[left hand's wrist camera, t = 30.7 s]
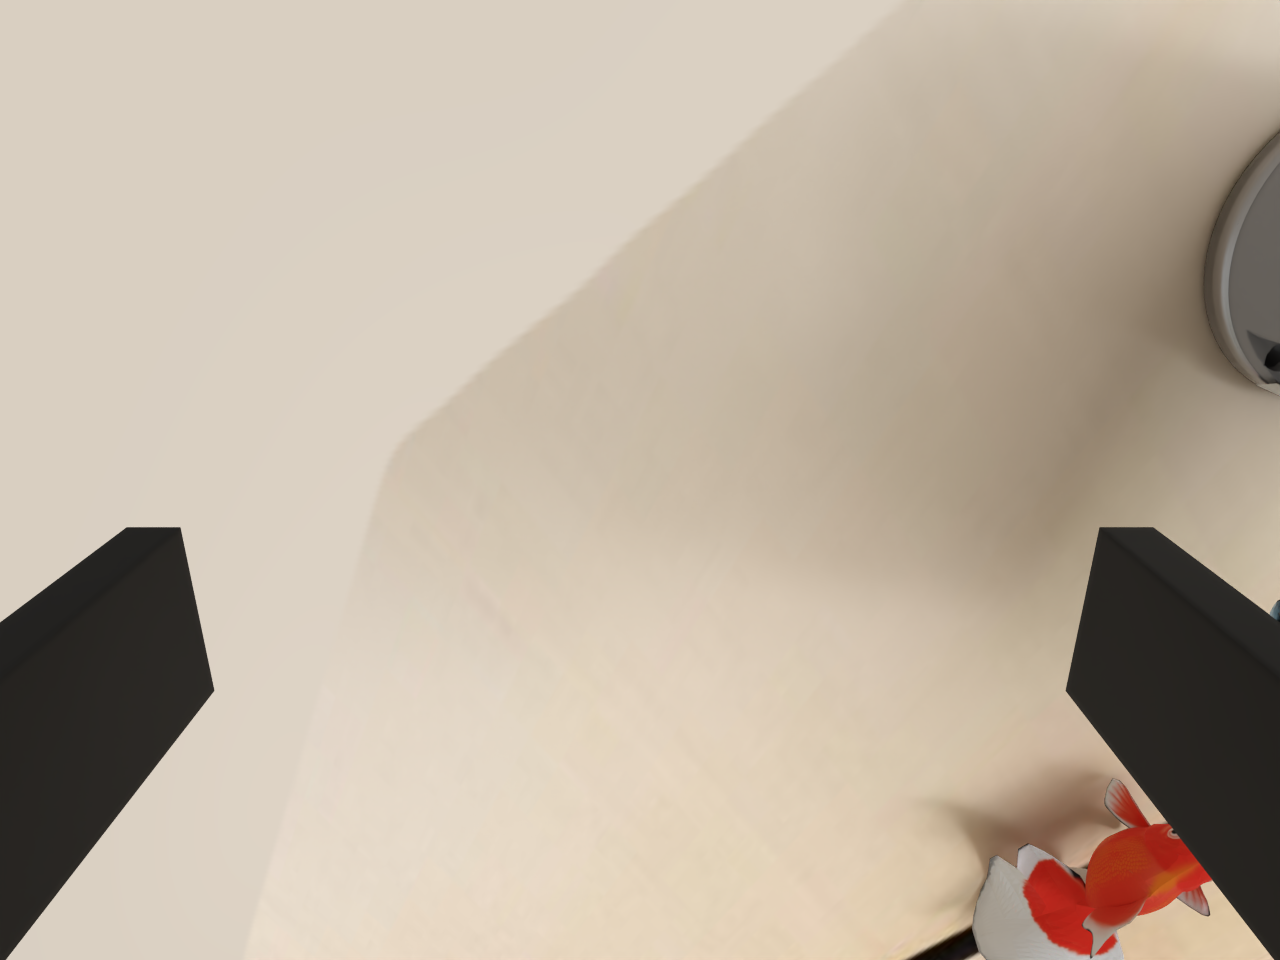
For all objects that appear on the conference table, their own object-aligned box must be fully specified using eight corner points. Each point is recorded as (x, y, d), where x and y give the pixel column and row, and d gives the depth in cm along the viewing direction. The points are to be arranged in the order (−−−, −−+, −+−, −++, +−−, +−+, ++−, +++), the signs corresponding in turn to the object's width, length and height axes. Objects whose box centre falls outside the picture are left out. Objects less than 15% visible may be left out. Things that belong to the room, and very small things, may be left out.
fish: (1273, 925, 52) (1286, 1056, 44) (1009, 929, 61) (979, 1038, 53) (1203, 758, 52) (1203, 859, 43) (949, 787, 61) (909, 875, 52)
